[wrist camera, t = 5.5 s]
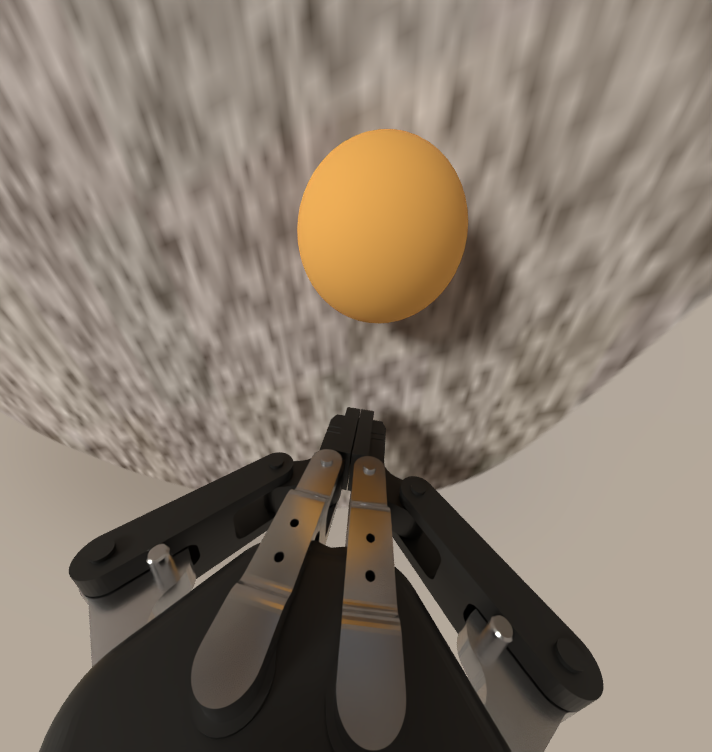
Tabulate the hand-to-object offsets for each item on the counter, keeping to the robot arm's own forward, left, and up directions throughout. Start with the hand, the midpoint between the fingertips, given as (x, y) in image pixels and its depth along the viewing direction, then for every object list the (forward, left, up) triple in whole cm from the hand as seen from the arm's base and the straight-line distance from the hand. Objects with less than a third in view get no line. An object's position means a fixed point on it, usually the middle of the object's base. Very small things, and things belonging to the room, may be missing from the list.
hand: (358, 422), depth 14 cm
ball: (0, +9, +1) cm, 9 cm away
